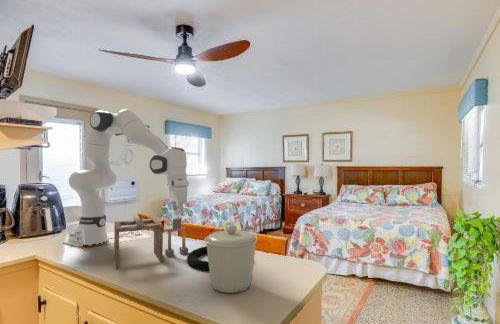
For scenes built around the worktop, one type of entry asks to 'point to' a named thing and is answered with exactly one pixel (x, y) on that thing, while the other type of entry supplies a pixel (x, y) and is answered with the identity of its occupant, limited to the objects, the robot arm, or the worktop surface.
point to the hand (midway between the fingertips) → (177, 211)
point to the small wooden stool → (137, 221)
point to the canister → (231, 259)
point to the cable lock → (195, 262)
